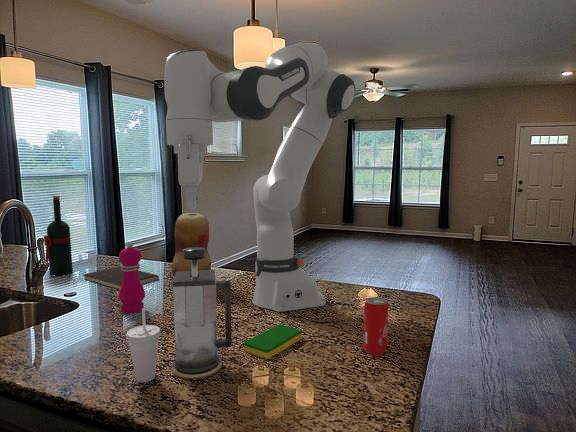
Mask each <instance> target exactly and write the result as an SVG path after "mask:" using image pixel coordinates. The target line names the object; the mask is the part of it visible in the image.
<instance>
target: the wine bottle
mask: <svg viewBox="0 0 576 432" xmlns="http://www.w3.org/2000/svg"><path fill="white" fill-rule="evenodd" d="M52 198H53V199H52V203H53V216H54V217H53V219H54V221H52V222H50V223H49V224H48V225H47V227H46V235H44V236H43V241H44V242H43V243H44V246H46V247H45V259H44V261H45V260H46V261H47V263H48V268H49V269H48V270H49V271H48V272H49V276H50V275H55V276H54V277H63V275H65V276H68V274H69V275H72V274H73V273H74V269H73V268H74V267H73V259H72V258H73V255H72V241H71V229H70V228H71V227H70V225H69V224H68V223H67V222H66V221H63V220H62V214H61V199H60V195H52Z"/></svg>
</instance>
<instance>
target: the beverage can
mask: <svg viewBox="0 0 576 432" xmlns="http://www.w3.org/2000/svg"><path fill="white" fill-rule="evenodd" d="M363 307H364V309H363V310H364V311H363V312H364V314H363V315H364V317H363V349H364V352H365V353H366V354H367V355H369V356H372V357H380V356H383V355H385V353H386V351H387V350H388V349H387V348H388V325H389V323H388V320H389V304H388V300H387V299H385V298H383V297H376V296H375V297H374V296H373V297H372V296H371V297H367V298H366V299H365V302H364V306H363Z"/></svg>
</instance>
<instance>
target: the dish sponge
mask: <svg viewBox="0 0 576 432" xmlns="http://www.w3.org/2000/svg"><path fill="white" fill-rule="evenodd" d="M302 332H303V331H302V329H298V328H295V327H291V326H287V325H284V324H280V323H279V324H277V325H275V326H273V327H271V328H269V329H267V330H265V331H263V332H261V333H260V334H258V335H256V336H254V337H252V338H250V339H248V340H246V341H243V352H246V353H248V354H250V355H255V356H257V357H260V358H263V359H266V360H269V359H271V358H273V357H274V356H275V355H277V354H279V353H280V352H282V351H284V350H285V349H286V348H288V347H290V346H292V345H294V344H295V343H297V342H298V341H300V340H301V339H303V336H302V335H303V333H302Z"/></svg>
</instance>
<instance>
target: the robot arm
mask: <svg viewBox="0 0 576 432" xmlns="http://www.w3.org/2000/svg"><path fill="white" fill-rule="evenodd" d="M328 58H329V57H328V54H327V52H326V51H325V49H324V48H323V47H322V46H321V45H320V44H318V43H316V42H309V41H308V42H299V43H294V44H290V45H286V46H284V47H281V48H279V49H278V50H276V51H275V52H273V53H272V54H270V55H269V56H268V57H267V59H266V62H265V66H264V67H262V66H260V65H259V66H258V65H252V66H249V67H244V68H242V69H239V70H234V71H229V72H223V71H222V70H220V69H219V68H217V67H216V66H215V64H213V63H212V62H211V60H210V59H209V57H208V54H207V52H206V51H205V50H202V49H196V48H195V49H194V48H193V49H191V48H190V49H186V50H179V51H175V52H173V53H170V54H169V56H168V57H167V58H166V61H165V66H164V79H163V80H164V81H163V83H164V87H163V88H164V99H165V102H166V105H167V106H166V107H167V112H166V116H165V128H166V130H165V131H166V133H165V134H166V144H167V146H173V154H175V155H177V168H178V169H177V172H178V173H177V176H178V177H177V178H178V183H179V185H180V186H181V187H183V186H184V187H183V188H184V196H185V203H186V204H185V205H186V206H185V207H186V209H187V210H196V209H197V205H198V203H199V185H200V183H201V182H202V180H203V174H204V164H205V163H204V161H205V160H204V159H205V154H208V149H207V147H209V146H213V145H214V137H213V136H214V135H213V134H214V133H213V132H214V130H213V128H214V127H213V123H227V122H229V123H230V122H240V121H263V120H265V119H267V118H268V117H270V115H271V116H272V114H273V113H274V111H275V110H276V108H277V106H278V105H279V104H280V102H281V101H283V100H284V99H285V98H286V97H289V98H290V99H292V100H296V101H298V102H300V103H302V104H304V106H303V107H302V108H301V110H299V113H297V115H296V117H295V118H294V120H293V121H292V123H291V124H290V126H289V128H288V130H287V132H286V134H285V136H284V137H283V139H282V141H281V143H280V145H279V147H278V149H277V151H276V155H275V158H274V162H273V164H272V166H271V169H270V171H269V174H265V175H262V176H261V177H259V178H258V179H257V180H256V181H255V183H254V186H253V190H252V194H253V205H254V207H253V208H254V217H255V218H254V219H255V224H256V244H257V245H256V250H257V251H256V253H257V255H256V257H255V275H256V278H255V279H256V281H255V287H254V293H253V298H252V300H251V301H252V303H253V305H255V306H256V307H259V308H263V309H269V310H272V311H274V312H281V313H282V312H288V311H297V310H302V309H303V310H304V309H309V308H316V307H317V308H318V307H323V306H325V305H326V302H327V301H326V297H325V296H324V294H322V293H321V292H320V291H319V288H318V284H317V281H316V280H315V279H314V278H313V277H312V276H311V275H310V274H308V273H307V272H306V271H304V270H303V269H302V267H303V266H305V265H304V264H305V261H303V259H301V258H299V257H297V256H296V255H294V250H295V249H294V244H295V243H294V242H295V241H294V240H295V239H294V238H295V237H294V228H293V225H292V219H291V213H290V212H292V211H293V210H295V209H297V207H298V205H300V202H301V198H302V191H303V189H304V186H305V184H306V180H307V177H308V174H309V173H310V172H309V171H310V169H311V167H312V165H313V163H314V161H315V159H316V157H317V155H318V154H319V151H320V150H321V148H322V146H323V144H324V142H325V140H326V138H327V136H328V134H329V130H330V128H331V125H332V122H333V119H336V118H337V116H340V115H342V114H343V113H344V112H346V111H347V110H348V109H349V108H350V107H351V105H352V104H353V101H354V98H355V95H356V85H355V81H354V80H353V79H352V78H351V77H350V76H348V75H346V74H344V73H339V72H338V71H336V70H333V69H331V68H328V65H329V59H328Z"/></svg>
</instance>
